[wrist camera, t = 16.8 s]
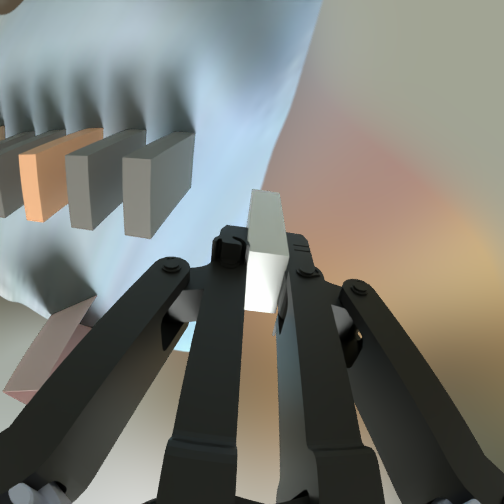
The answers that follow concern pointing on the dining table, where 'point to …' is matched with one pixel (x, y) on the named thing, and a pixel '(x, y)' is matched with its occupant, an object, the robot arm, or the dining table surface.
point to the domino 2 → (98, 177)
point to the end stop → (2, 133)
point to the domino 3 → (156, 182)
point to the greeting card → (48, 351)
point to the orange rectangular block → (50, 173)
